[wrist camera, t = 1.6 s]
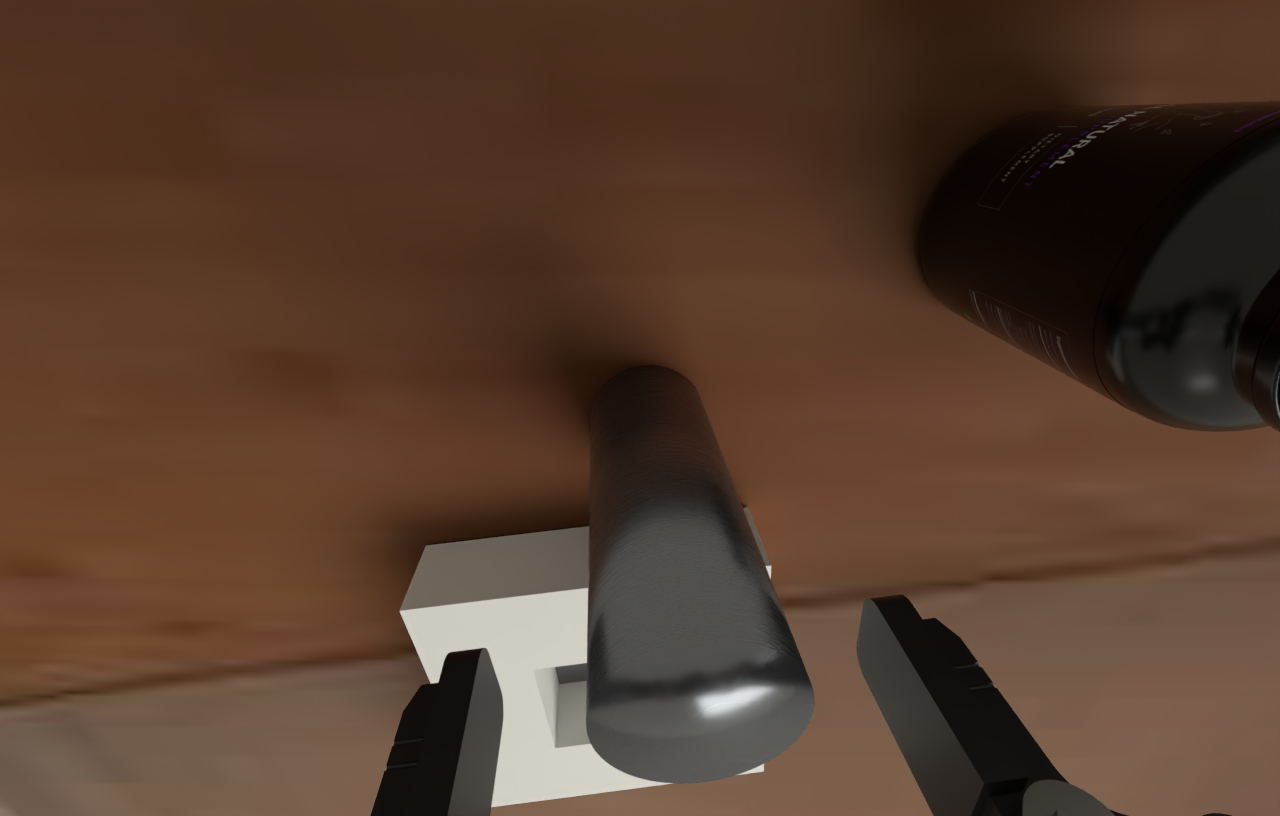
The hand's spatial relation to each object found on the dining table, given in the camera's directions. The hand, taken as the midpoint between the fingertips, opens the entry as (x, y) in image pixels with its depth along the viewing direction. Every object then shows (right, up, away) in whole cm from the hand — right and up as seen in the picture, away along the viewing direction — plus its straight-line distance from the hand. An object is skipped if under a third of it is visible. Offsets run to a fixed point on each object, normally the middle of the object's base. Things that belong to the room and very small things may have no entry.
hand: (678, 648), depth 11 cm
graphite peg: (-1, +5, +9) cm, 11 cm away
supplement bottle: (+12, +12, +7) cm, 18 cm away
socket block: (-2, -6, +15) cm, 16 cm away
